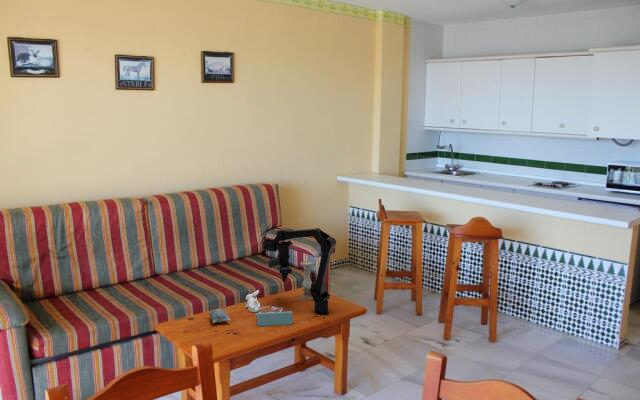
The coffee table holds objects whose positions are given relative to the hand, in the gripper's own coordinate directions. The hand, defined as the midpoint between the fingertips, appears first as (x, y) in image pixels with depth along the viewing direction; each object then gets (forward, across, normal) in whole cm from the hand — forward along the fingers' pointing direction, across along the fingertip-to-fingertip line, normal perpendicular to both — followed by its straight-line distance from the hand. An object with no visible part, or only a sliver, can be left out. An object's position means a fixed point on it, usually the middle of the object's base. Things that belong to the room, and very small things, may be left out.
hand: (283, 282), depth 289 cm
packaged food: (+14, +20, -31) cm, 40 cm away
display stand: (+13, +20, -7) cm, 25 cm away
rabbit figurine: (+13, +3, -16) cm, 21 cm away
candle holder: (+13, -10, +14) cm, 22 cm away
